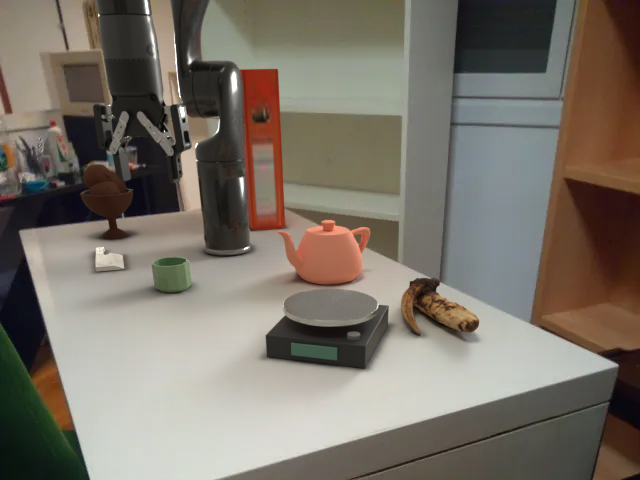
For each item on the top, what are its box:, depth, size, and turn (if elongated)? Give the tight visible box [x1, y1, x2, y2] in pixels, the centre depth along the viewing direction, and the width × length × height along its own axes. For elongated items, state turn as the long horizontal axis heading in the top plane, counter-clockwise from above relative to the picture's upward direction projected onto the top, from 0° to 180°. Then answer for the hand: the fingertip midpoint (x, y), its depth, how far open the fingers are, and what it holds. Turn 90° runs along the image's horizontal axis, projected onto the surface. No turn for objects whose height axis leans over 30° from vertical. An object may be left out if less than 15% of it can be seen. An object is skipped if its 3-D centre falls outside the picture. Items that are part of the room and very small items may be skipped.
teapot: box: [275, 219, 371, 285], centre depth 104 cm, size 12×18×10 cm
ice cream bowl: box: [79, 163, 134, 240], centre depth 129 cm, size 11×11×15 cm
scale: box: [265, 304, 390, 369], centre depth 80 cm, size 15×13×4 cm
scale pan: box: [282, 288, 379, 327], centre depth 78 cm, size 13×13×1 cm
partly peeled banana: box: [400, 277, 480, 336], centre depth 86 cm, size 9×5×18 cm
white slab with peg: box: [94, 246, 125, 272], centre depth 116 cm, size 5×15×1 cm, turn 17°
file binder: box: [239, 68, 286, 231], centre depth 137 cm, size 8×17×32 cm, turn 17°
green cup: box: [151, 256, 193, 293], centre depth 100 cm, size 6×6×4 cm
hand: (149, 181), depth 90 cm, fingers open, 8 cm apart
